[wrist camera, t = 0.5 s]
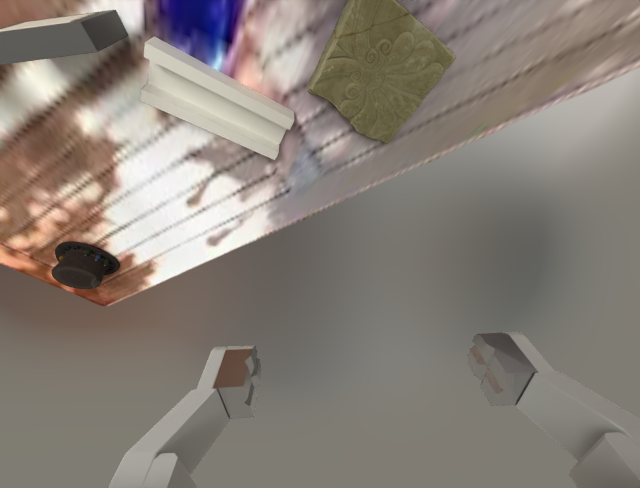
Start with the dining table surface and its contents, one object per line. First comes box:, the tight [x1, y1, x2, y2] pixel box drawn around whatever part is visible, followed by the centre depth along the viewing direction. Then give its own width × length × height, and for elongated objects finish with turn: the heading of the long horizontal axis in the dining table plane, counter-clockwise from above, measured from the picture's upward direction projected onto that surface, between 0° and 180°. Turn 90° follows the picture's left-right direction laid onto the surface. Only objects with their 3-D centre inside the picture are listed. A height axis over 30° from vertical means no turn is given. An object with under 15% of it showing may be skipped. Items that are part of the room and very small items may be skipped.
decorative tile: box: [307, 0, 456, 144], centre depth 47 cm, size 19×20×4 cm
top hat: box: [52, 242, 119, 290], centre depth 74 cm, size 15×15×10 cm
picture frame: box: [0, 10, 128, 65], centre depth 37 cm, size 3×14×10 cm, turn 95°
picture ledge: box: [140, 37, 294, 160], centre depth 48 cm, size 9×24×4 cm, turn 60°
